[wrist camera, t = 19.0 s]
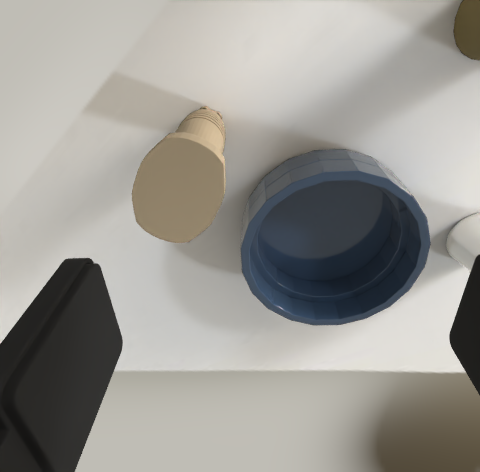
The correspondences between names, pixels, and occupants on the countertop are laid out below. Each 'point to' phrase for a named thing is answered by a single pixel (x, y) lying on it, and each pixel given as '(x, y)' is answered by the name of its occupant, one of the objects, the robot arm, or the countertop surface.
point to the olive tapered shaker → (468, 28)
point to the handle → (182, 179)
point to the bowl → (332, 238)
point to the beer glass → (465, 241)
